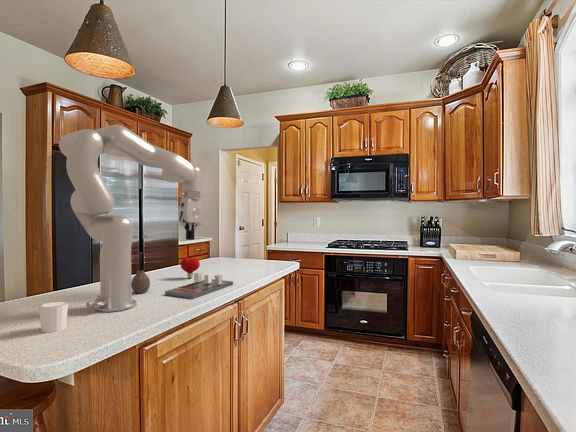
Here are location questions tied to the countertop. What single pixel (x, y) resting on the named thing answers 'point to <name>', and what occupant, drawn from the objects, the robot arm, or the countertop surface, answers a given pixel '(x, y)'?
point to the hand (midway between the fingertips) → (190, 239)
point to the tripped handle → (207, 278)
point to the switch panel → (199, 287)
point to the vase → (140, 282)
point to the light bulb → (190, 266)
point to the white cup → (53, 316)
